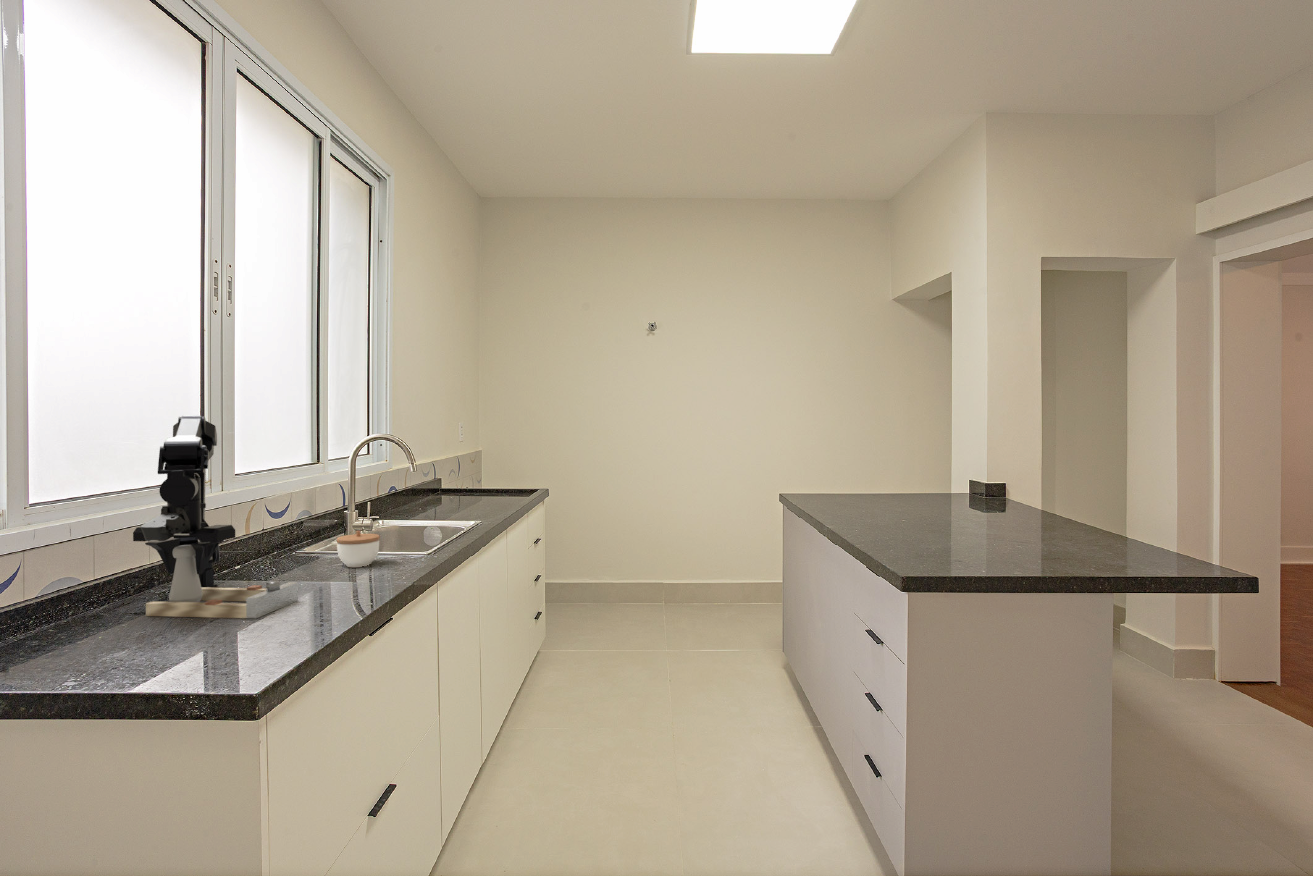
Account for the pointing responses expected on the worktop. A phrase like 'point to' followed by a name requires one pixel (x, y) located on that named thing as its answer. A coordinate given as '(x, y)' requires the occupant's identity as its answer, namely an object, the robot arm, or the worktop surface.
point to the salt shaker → (185, 576)
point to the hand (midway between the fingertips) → (185, 573)
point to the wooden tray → (255, 606)
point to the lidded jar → (358, 549)
